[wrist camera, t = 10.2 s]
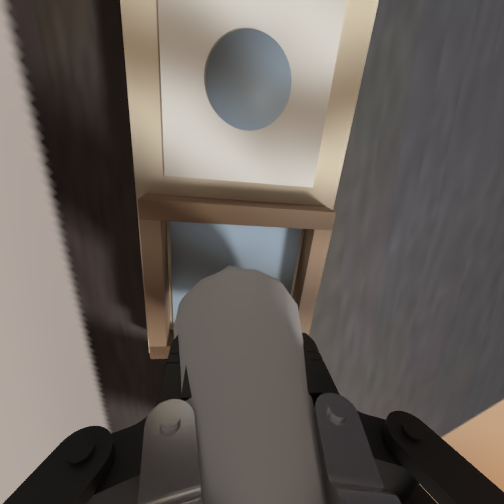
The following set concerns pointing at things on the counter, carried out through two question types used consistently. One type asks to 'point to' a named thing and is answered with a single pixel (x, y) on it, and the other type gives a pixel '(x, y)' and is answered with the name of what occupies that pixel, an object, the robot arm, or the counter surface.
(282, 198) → the beige organizer tray
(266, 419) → the salt shaker
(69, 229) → the counter surface
